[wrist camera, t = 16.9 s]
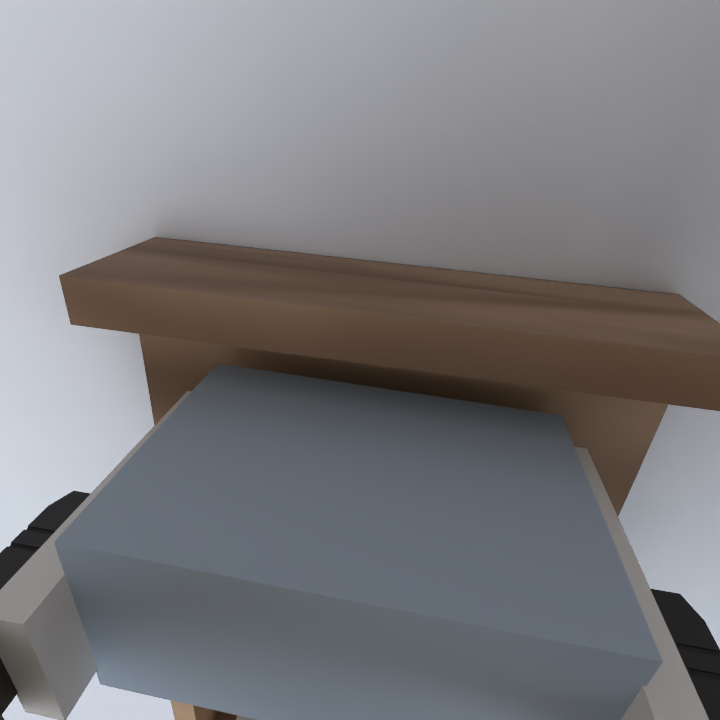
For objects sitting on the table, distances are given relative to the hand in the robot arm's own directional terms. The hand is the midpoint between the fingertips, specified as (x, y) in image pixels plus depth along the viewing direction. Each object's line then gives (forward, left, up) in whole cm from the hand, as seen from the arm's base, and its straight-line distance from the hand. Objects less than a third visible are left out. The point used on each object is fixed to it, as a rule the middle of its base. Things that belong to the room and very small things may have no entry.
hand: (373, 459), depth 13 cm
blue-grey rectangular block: (0, 0, 0) cm, 0 cm away
